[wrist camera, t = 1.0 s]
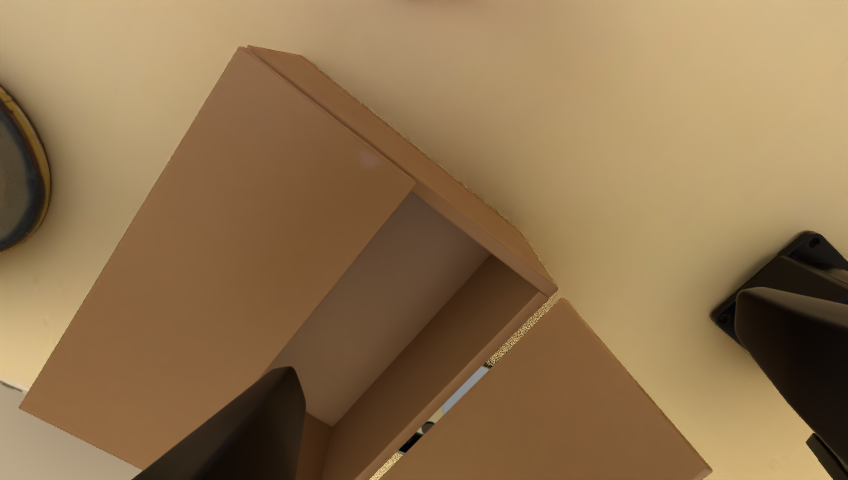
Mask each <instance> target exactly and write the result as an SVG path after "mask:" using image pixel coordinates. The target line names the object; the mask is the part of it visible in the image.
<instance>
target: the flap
mask: <svg viewBox="0 0 848 480" xmlns="http://www.w3.org/2000/svg"><path fill="white" fill-rule="evenodd" d="M712 471H713V470H712V469H711V467H710V466H709V465H708V464H707V463H706V462H705V460H704V459H703V458H702V457H701V456H700V455H699V453H698V452H697V451H696V450H695V449H694V448H693V447H692V445H691V444H690V443H689V442H688V441H687V440H686V438H685V437H684V436H683V435H682V434H681V433H680V431H679V430H678V429H677V428H676V427H675V426H674V424H673V423H672V422H671V421H670V420H669V419H668V417H667V416H666V415H665V414H664V413H663V412H662V410H661V409H660V408H659V407H658V406H657V405H656V403H655V402H654V401H653V400H652V399H651V398H650V396H649V395H648V394H647V393H646V392H645V391H644V390H643V388H642V387H641V386H640V385H639V384H638V383H637V381H636V380H635V379H634V378H633V377H632V376H631V374H630V373H629V372H628V371H627V370H626V369H625V367H624V366H623V365H622V364H621V363H620V362H619V360H618V359H617V358H616V357H615V356H614V355H613V353H612V352H611V351H610V350H609V349H608V348H607V346H606V345H605V344H604V343H603V342H602V341H601V340H600V338H599V337H598V336H597V335H596V334H595V333H594V331H593V330H592V329H591V328H590V327H589V326H588V324H587V323H586V322H585V321H584V320H583V319H582V317H581V316H580V315H579V314H578V313H577V312H576V310H575V309H574V308H573V307H572V306H571V305H570V303H569V302H568V301H566V300H565V299H563V298H561V299H560V300H559V301H558V302H557V303H556V304H555V305H554V306H553V307H552V308H551V309H550V310H549V311H548V312H547V313H546V314H545V315H544V316H543V317H542V318H541V319H540V320H539V321H538V322H537V323H536V324H535V325H534V326H533V327H532V328H531V329H530V330H529V331H528V332H527V333H526V334H525V335H524V336H523V337H522V338H521V339H520V340H519V341H518V342H517V343H516V344H515V345H514V346H513V347H512V348H511V349H510V350H509V351H508V352H507V353H506V354H505V355H504V356H503V357H502V358H501V359H500V360H499V361H498V362H497V363H496V364H495V365H494V366H493V367H492V368H491V369H490V370H489V371H488V372H487V373H486V374H485V375H484V376H482V377H481V378H480V379H479V380H478V381H477V382H476V383H475V384H474V385H473V386H472V387H471V388H470V389H469V390H468V391H467V392H466V393H465V394H464V395H463V396H462V397H461V398H460V399H459V400H458V401H457V402H456V403H455V404H454V405H453V406H452V407H451V408H450V409H449V410H448V411H447V412H446V413H445V414H444V415H443V416H442V417H441V418H440V419H439V420H438V421H437V422H436V423H435V424H434V425H433V426H432V427H431V428H430V429H429V430H428V431H427V432H426V433H425V434H424V435H423V436H422V437H421V438H420V439H419V440H418V441H417V442H416V443H415V444H414V445H413V446H412V447H411V448H410V449H409V450H408V451H407V452H406V453H405V454H404V455H403V456H402V457H401V458H400V459H399V460H398V461H397V462H396V463H395V464H394V465H393V466H392V467H391V468H390V469H389V470H388V471H387V472H386V473H385V474H384V475H383V476H382V477H381V478H380V479H379V480H703V479H704V478H705V477H707V476H708V475H709V474H711V473H712Z"/></svg>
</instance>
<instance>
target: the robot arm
mask: <svg viewBox="0 0 848 480" xmlns="http://www.w3.org/2000/svg"><path fill="white" fill-rule="evenodd" d="M811 239H812V241H811V242H810V243H809V241H810V240H811ZM724 315H725V316H724ZM722 316H724V318H722V319H721V317H722ZM711 320H712V321H713V322H714V323H715V324H716V325H717V326H719V327H720V328H721V329H722V330H723V331H724V332H726V333H727V334H728V335H729V336H730V337H731V338H733V339H734V340H735V341H736V342H737V343H738V344H740V345H741V346H742V347H743V348H744V349H745V350H747V351H748V352H749V353H750V355H751V356H752V357H753V359H754V360H755V361H756V363H757V364H758V365H759V366H760V368H761V369H762V370H763V372H764V373H765V374H766V376H767V377H768V378H769V379H770V381H771V382H772V383H773V385H774V386H775V387H776V389H777V390H778V391H779V393H780V394H781V395H782V396H783V397H784V399H785V400H786V401H787V402H788V404H789V405H790V406H791V407H792V408H793V409H794V410H795V412H796V413H797V414H798V415H799V416H800V417H801V418H802V419H803V420H804V421H805V422H806V424H807V425H808V426H809V427H810V428H811V429H812V430H813V431H814V432H815V433H813V434H812V435H811V436H810V437H809V439H808V440H807V441H806V444H807V445H808V446H809V448H810V449H811V450H812V452H813V453H814V454H815V456H816V457H817V458H818V460H819V462H820V463H821V464H822V466H823V467H824V468H825V470H826V471H827V472H828V474H829V475H830V476H831V477H832V479H833V480H848V262H847V261H846V260H845V258H844V257H843V256H842V255H841V254H840V253H839V252H838V251H837V250H836V249H835V248H834V247H833V246H832V245H831V244H830V243H829V242H828V241H827V240H826V239H825V238H824V237H823V236H822V235H820V234H818V233H815V232H813V231H807V232H804V233H803V234H801V235H800V236H799V237H798V238H797V239H795V240H794V241H793V242H792V243H791V244H790V245H789V246H787V247H786V248H785V249H784V250H783V251H782V252H781V253H779V254H778V255H777V256H776V257H775V258H774V259H773V260H771V261H770V262H769V263H768V264H767V265H766V266H765V267H763V268H762V269H761V270H760V271H759V272H758V273H757V274H755V275H754V276H753V277H752V278H751V279H750V280H749V281H747V282H746V283H745V284H744V285H743V286H742V287H741V288H739V289H738V290H737V291H736V292H735V293H734V294H733V295H731V296H730V297H729V298H728V299H727V300H726V301H724V302H723V303H722V304H721V305H720V306H719V307H718V308H716V309H715V310H714V311H713V313H712V315H711ZM305 413H306V400H305V396H304V393H303V390H302V387H301V384H300V381H299V378H298V375H297V373H296V370H295V369H294V368H293V367H292V366H286V367H280V368H274V369H272V370H270V371H269V372H268V373H267V374H265V375H264V376H263V377H262V378H260V379H259V380H258V381H256V382H255V383H254V384H253V385H251V386H250V387H249V388H248V389H246V390H245V391H244V392H242V393H241V394H240V395H239V396H237V397H236V398H235V399H234V400H232V401H231V402H230V403H229V404H227V405H226V406H225V407H223V408H222V409H221V410H220V411H218V412H217V413H216V414H215V415H213V416H212V417H211V418H209V419H208V420H207V421H206V422H204V423H203V424H202V425H201V426H199V427H198V428H197V429H195V430H194V431H193V432H192V433H190V434H189V435H188V436H187V437H185V438H184V439H183V440H181V441H180V442H179V443H178V444H176V445H175V446H174V447H173V448H171V449H170V450H169V451H167V452H166V453H165V454H164V455H162V456H161V457H160V458H159V459H157V460H156V461H155V462H153V463H152V464H151V465H150V466H148V467H147V468H146V469H145V470H143V471H142V472H141V473H140V474H138V475H137V476H136V477H134V478H133V479H132V480H296V475H297V469H298V462H299V455H300V448H301V441H302V434H303V427H304V420H305Z"/></svg>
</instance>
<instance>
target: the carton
mask: <svg viewBox="0 0 848 480" xmlns="http://www.w3.org/2000/svg"><path fill="white" fill-rule="evenodd" d="M557 290H558V287H557V286H556V284H555V283H554V281H553V280H552V278H551V277H550V275H549V274H548V273H547V271H546V270H545V268H544V267H543V265H542V264H541V262H540V261H539V259H538V258H537V256H536V255H535V253H534V252H533V250H532V249H531V248H530V246H529V245H528V243H527V242H526V240H525V239H524V237H523V236H522V234H521V233H520V231H519V230H518V229H516V228H515V227H514V226H513V225H511V224H510V223H509V222H508V221H506V220H505V219H504V218H503V217H501V216H500V215H499V214H498V213H497V212H495V211H494V210H493V209H492V208H490V207H489V206H488V205H487V204H485V203H484V202H483V201H482V200H480V199H479V198H478V197H477V196H475V195H474V194H473V193H472V192H470V191H469V190H468V189H467V188H465V187H464V186H463V185H462V184H460V183H459V182H458V181H457V180H455V179H454V178H453V177H452V176H451V175H449V174H448V173H447V172H446V171H444V170H443V169H442V168H441V167H439V166H438V165H437V164H436V163H434V162H433V161H432V160H431V159H429V158H428V157H427V156H426V155H424V154H423V153H422V152H421V151H419V150H418V149H417V148H416V147H414V146H413V145H412V144H411V143H410V142H408V141H407V140H406V139H405V138H403V137H402V136H401V135H400V134H398V133H397V132H396V131H395V130H393V129H392V128H391V127H390V126H388V125H387V124H386V123H385V122H383V121H382V120H381V119H380V118H378V117H377V116H376V115H375V114H373V113H372V112H371V111H370V110H368V109H367V108H366V107H365V106H364V105H362V104H361V103H360V102H359V101H357V100H356V99H355V98H354V97H352V96H351V95H350V94H349V93H347V92H346V91H345V90H344V89H342V88H341V87H340V86H339V85H337V84H336V83H335V82H334V81H332V80H331V79H330V78H329V77H327V76H326V75H325V74H324V73H323V72H321V71H320V70H319V69H318V68H316V67H315V66H314V65H313V64H311V63H310V62H309V61H308V60H306V59H305V58H304V57H303V56H301V55H296V54H290V53H285V52H280V51H275V50H270V49H265V48H260V47H254V46H249V45H248V46H247V48H244V47H238V49H237V51H236V52H235V54H234V56H233V57H232V59H231V61H230V62H229V64H228V65H227V67H226V69H225V70H224V72H223V74H222V75H221V77H220V79H219V80H218V82H217V83H216V85H215V87H214V88H213V90H212V92H211V93H210V95H209V97H208V98H207V100H206V102H205V103H204V105H203V106H202V108H201V110H200V111H199V113H198V115H197V116H196V118H195V120H194V121H193V123H192V124H191V126H190V128H189V129H188V131H187V133H186V134H185V136H184V138H183V139H182V141H181V142H180V144H179V146H178V147H177V149H176V151H175V152H174V154H173V156H172V157H171V159H170V161H169V162H168V164H167V165H166V167H165V169H164V170H163V172H162V174H161V175H160V177H159V179H158V180H157V182H156V183H155V185H154V187H153V188H152V190H151V192H150V193H149V195H148V197H147V198H146V200H145V201H144V203H143V205H142V206H141V208H140V210H139V211H138V213H137V215H136V216H135V218H134V219H133V221H132V223H131V224H130V226H129V228H128V229H127V231H126V233H125V234H124V236H123V238H122V239H121V241H120V242H119V244H118V246H117V247H116V249H115V251H114V252H113V254H112V256H111V257H110V259H109V260H108V262H107V264H106V265H105V267H104V269H103V270H102V272H101V274H100V275H99V277H98V278H97V280H96V282H95V283H94V285H93V287H92V288H91V290H90V292H89V293H88V295H87V297H86V298H85V300H84V301H83V303H82V305H81V306H80V308H79V310H78V311H77V313H76V315H75V316H74V318H73V319H72V321H71V323H70V324H69V326H68V328H67V329H66V331H65V333H64V334H63V336H62V337H61V339H60V341H59V342H58V344H57V346H56V347H55V349H54V351H53V352H52V354H51V355H50V357H49V359H48V360H47V362H46V364H45V365H44V367H43V369H42V370H41V372H40V374H39V375H38V377H37V378H36V380H35V382H34V383H33V385H32V387H31V388H30V390H29V392H28V393H27V395H26V396H25V398H24V400H23V401H22V403H21V405H20V406H19V408H20V409H21V410H23V411H25V412H28V413H29V414H31V415H33V416H35V417H37V418H39V419H41V420H43V421H45V422H47V423H49V424H51V425H53V426H55V427H57V428H60V429H61V430H63V431H65V432H67V433H69V434H71V435H73V436H75V437H78V438H80V439H81V440H83V441H86V442H87V443H89V444H92V445H93V446H95V447H97V448H99V449H102V450H103V451H105V452H107V453H109V454H112V455H113V456H115V457H118V458H119V459H121V460H124V461H125V462H127V463H129V464H132V465H133V466H135V467H137V468H139V469H141V470H145V469H146V468H147V467H148V466H150V465H151V464H152V463H153V462H155V461H156V460H157V459H159V458H160V457H161V456H162V455H164V454H165V453H166V452H167V451H169V450H170V449H171V448H173V447H174V446H175V445H176V444H178V443H179V442H180V441H181V440H183V439H184V438H185V437H187V436H188V435H189V434H190V433H192V432H193V431H194V430H195V429H197V428H198V427H199V426H201V425H202V424H203V423H204V422H206V421H207V420H208V419H209V418H211V417H212V416H213V415H215V414H216V413H217V412H218V411H220V410H221V409H222V408H223V407H225V406H226V405H227V404H229V403H230V402H231V401H232V400H234V399H235V398H236V397H237V396H239V395H240V394H241V393H242V392H244V391H245V390H246V389H248V388H249V387H250V386H251V385H253V384H254V383H255V382H256V381H258V380H259V379H260V378H262V377H263V376H264V375H265V374H267V373H268V372H269V371H270V370H272V369H274V368H280V367H286V366H292V367H293V368H294V369H295V370H296V373H297V375H298V378H299V381H300V384H301V387H302V390H303V393H304V396H305V400H306V413H305V420H304V427H303V434H302V441H301V448H300V455H299V462H298V469H297V475H296V480H369V479H370V478H371V477H372V476H373V475H374V474H375V473H376V472H377V471H378V470H379V469H380V468H381V467H382V466H383V465H384V464H385V463H386V462H387V461H388V460H389V459H390V458H391V457H392V456H393V455H394V454H395V453H396V452H397V451H398V450H399V449H400V448H401V447H402V446H403V445H404V444H405V443H406V442H407V441H408V440H409V439H410V438H411V437H412V436H413V435H414V434H415V433H416V432H417V431H418V430H419V429H420V428H421V427H422V426H423V425H424V424H425V423H426V422H427V421H428V420H429V419H430V418H431V417H432V416H433V415H434V414H435V413H436V412H437V411H438V410H439V409H440V408H441V406H442V405H443V404H444V403H445V402H446V401H447V400H448V399H449V398H450V397H451V396H452V395H453V394H454V393H455V392H456V391H457V390H458V389H459V388H460V387H461V386H462V385H463V384H464V383H465V382H466V381H467V380H468V379H469V378H470V377H471V376H472V375H473V374H474V373H475V372H476V371H477V370H478V369H479V368H480V367H481V366H482V365H483V364H484V363H485V362H486V361H487V360H488V359H489V358H490V357H491V356H492V355H493V354H494V353H495V352H496V351H497V350H498V349H499V348H500V347H501V346H502V345H503V344H504V343H505V342H506V341H507V340H508V339H509V338H510V337H511V336H512V335H513V334H514V333H515V332H516V331H517V330H518V329H519V328H520V327H521V326H522V325H523V324H524V323H525V322H526V321H527V320H528V319H529V318H530V317H531V316H532V315H533V314H534V313H535V312H536V311H537V310H538V309H539V308H540V307H541V306H542V305H543V304H544V303H545V302H546V301H547V300H548V299H549V298H548V297H551V296H552V295H553V294H554V293H555V292H556V291H557Z"/></svg>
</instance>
